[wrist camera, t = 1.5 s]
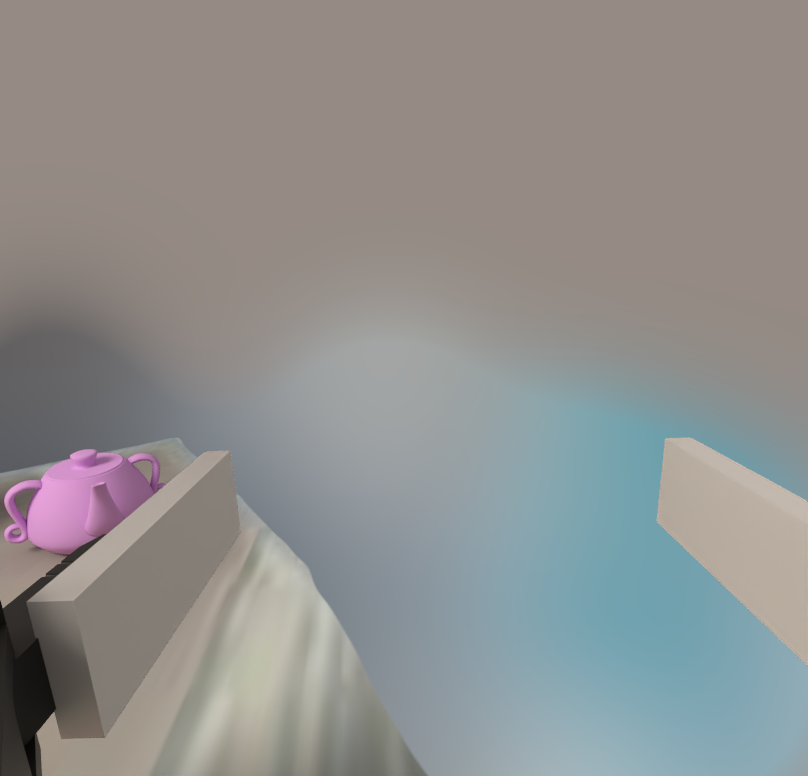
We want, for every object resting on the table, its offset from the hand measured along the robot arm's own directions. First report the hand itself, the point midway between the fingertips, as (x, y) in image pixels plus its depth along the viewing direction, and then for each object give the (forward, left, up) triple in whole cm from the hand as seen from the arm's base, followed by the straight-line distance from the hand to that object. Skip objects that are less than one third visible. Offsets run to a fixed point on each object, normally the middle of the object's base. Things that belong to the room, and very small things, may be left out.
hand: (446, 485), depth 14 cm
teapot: (-69, +14, -36) cm, 79 cm away
